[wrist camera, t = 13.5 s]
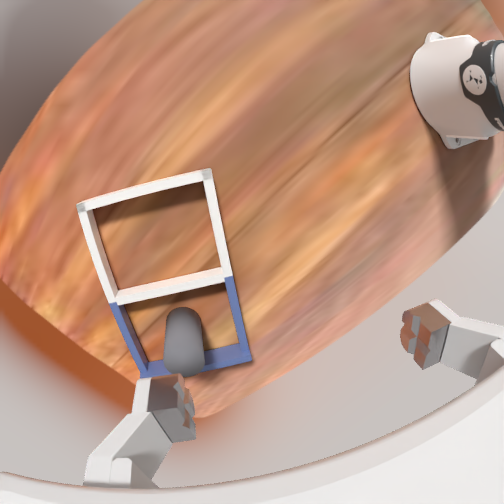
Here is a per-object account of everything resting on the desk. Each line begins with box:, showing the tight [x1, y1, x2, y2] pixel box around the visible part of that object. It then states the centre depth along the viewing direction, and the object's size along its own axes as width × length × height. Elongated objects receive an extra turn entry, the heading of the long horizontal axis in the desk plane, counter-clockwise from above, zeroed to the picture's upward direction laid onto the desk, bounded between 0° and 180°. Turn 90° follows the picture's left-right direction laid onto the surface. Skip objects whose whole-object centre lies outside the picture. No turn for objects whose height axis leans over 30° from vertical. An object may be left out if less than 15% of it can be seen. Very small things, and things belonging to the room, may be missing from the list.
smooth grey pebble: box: [163, 307, 205, 377], centre depth 34 cm, size 4×4×8 cm
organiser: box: [76, 168, 252, 379], centre depth 34 cm, size 15×24×3 cm, turn 10°
